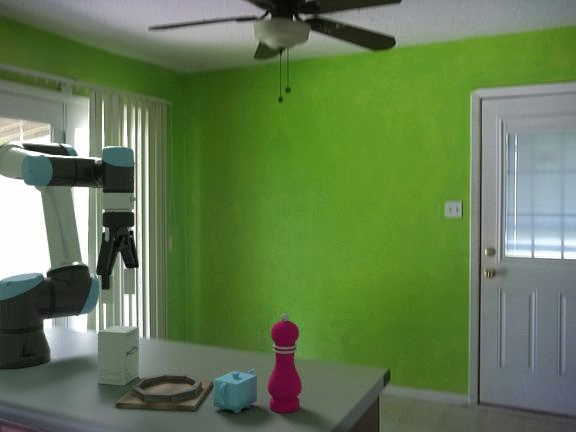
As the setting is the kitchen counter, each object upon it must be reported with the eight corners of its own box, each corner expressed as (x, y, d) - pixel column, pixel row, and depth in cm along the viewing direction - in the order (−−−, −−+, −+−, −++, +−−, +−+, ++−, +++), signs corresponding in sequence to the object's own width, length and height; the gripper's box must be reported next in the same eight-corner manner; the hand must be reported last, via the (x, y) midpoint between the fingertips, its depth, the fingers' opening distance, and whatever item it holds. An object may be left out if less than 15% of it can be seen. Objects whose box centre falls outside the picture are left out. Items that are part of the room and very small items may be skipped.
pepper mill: (266, 402, 121) (267, 310, 120) (299, 401, 121) (300, 310, 121) (268, 414, 113) (268, 317, 113) (303, 413, 114) (304, 316, 113)
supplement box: (125, 386, 131) (125, 332, 130) (96, 384, 132) (96, 331, 132) (139, 376, 138) (139, 326, 138) (112, 374, 139) (112, 324, 139)
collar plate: (115, 407, 117) (115, 395, 117) (144, 381, 134) (143, 371, 134) (194, 410, 115) (194, 398, 115) (213, 384, 132) (213, 373, 132)
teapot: (242, 395, 125) (242, 362, 125) (265, 400, 122) (265, 366, 122) (208, 412, 115) (209, 376, 114) (232, 418, 111) (232, 381, 111)
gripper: (112, 211, 121) (113, 308, 122) (151, 210, 146) (151, 290, 147) (79, 211, 122) (80, 307, 122) (123, 210, 147) (123, 290, 147)
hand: (118, 298), depth 134 cm, fingers open, 13 cm apart
